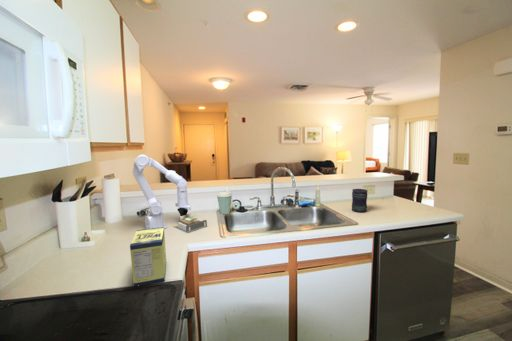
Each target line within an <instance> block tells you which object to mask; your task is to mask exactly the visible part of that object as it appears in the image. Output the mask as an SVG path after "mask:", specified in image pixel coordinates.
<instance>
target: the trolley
mask: <svg viewBox="0 0 512 341" xmlns="http://www.w3.org/2000/svg"><path fill="white" fill-rule="evenodd" d="M197 219H198V217H197V216H192V215H191V213H187V215H184V216H179V221H180V223H182V224H186V225H190V224H193V223H197V222H199V220H200V219H199V220H197Z"/></svg>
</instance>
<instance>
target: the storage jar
mask: <svg viewBox="0 0 512 341" xmlns="http://www.w3.org/2000/svg"><path fill="white" fill-rule="evenodd" d="M351 192H352V194H351V198H352V202H351V211H352V212H353V213H358V214H365V213H367V209H368V204H367V202H368V201H367V200H368V189H365V188H364V189H363V188H352V191H351Z"/></svg>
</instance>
